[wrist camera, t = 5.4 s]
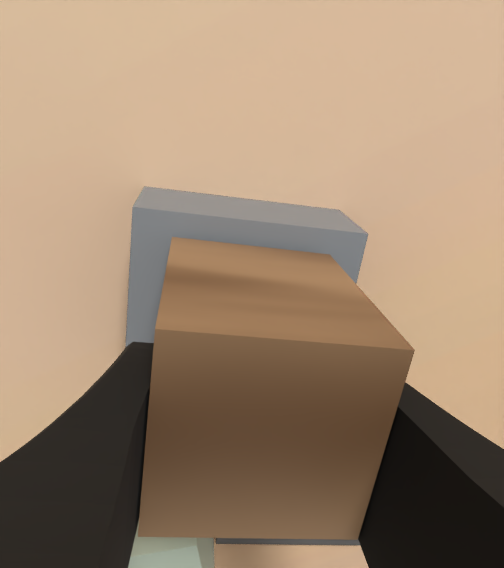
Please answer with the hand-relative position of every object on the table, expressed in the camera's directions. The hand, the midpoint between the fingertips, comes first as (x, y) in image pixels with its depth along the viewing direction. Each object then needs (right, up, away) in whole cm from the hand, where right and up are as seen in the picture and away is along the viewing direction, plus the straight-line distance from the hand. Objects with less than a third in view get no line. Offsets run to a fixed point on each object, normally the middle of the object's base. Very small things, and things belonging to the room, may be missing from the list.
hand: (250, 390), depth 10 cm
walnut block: (0, +1, +2) cm, 3 cm away
